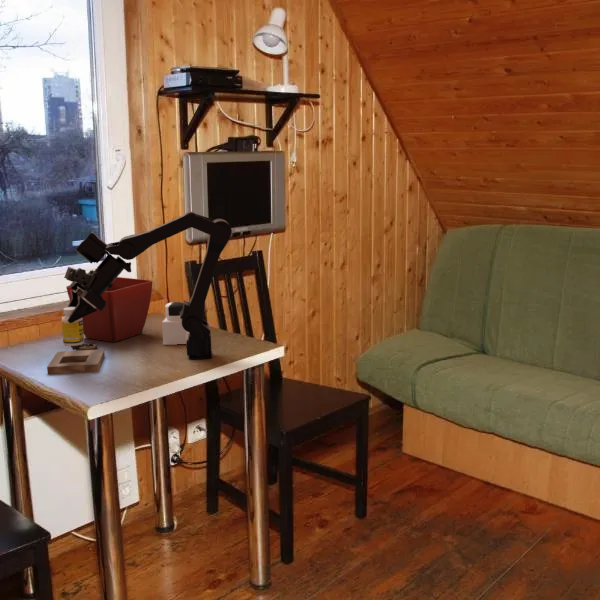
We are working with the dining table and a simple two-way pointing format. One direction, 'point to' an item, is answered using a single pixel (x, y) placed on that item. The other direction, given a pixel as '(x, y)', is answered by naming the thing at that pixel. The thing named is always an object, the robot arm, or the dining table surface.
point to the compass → (85, 347)
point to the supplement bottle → (72, 329)
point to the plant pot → (119, 311)
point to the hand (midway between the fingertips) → (66, 319)
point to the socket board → (76, 361)
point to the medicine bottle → (173, 325)
